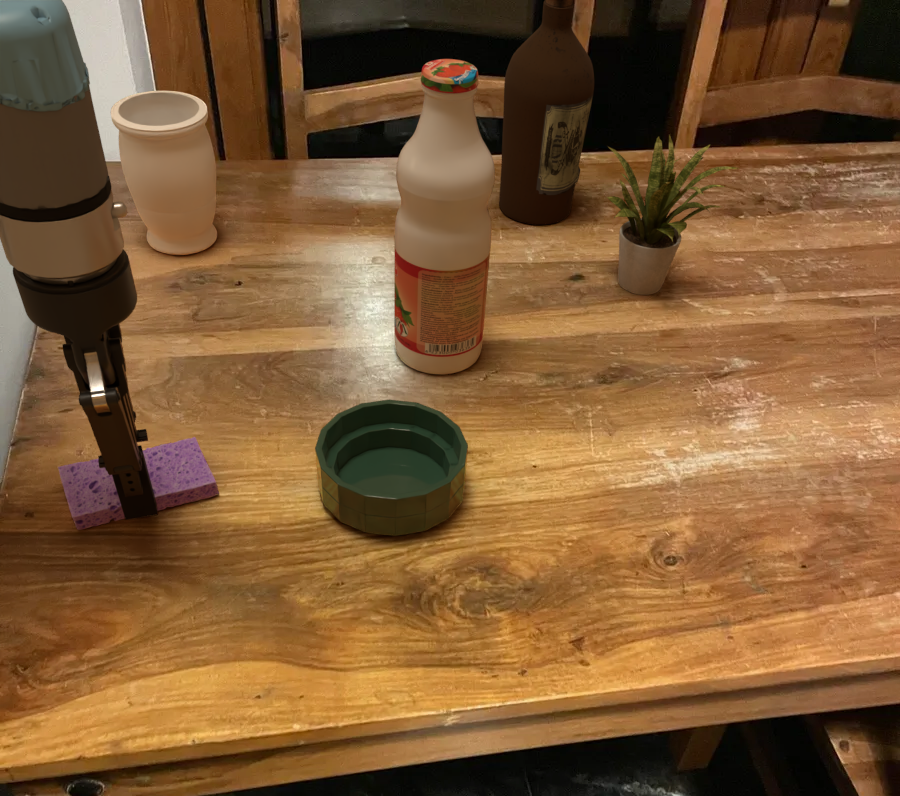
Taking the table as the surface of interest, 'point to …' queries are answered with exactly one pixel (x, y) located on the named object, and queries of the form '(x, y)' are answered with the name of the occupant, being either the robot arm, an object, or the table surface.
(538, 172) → the olive oil
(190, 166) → the jar
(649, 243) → the house plant
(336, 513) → the dish
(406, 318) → the fruit juice
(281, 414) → the table surface
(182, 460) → the sponge
